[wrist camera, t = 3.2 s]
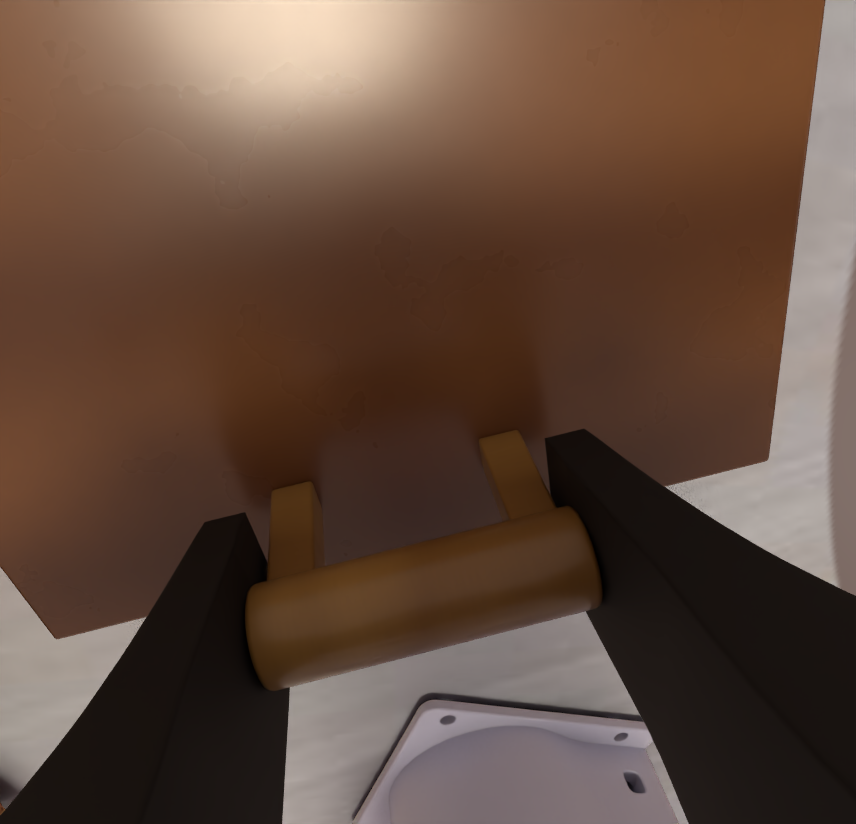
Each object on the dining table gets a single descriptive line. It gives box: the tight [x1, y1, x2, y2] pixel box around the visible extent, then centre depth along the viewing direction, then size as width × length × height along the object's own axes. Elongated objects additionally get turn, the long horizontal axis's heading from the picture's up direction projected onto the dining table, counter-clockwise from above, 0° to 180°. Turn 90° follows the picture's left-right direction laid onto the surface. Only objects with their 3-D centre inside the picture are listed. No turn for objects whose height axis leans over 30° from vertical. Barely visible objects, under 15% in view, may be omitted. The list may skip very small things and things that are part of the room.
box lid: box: [0, 0, 825, 691], centre depth 8 cm, size 11×13×4 cm
